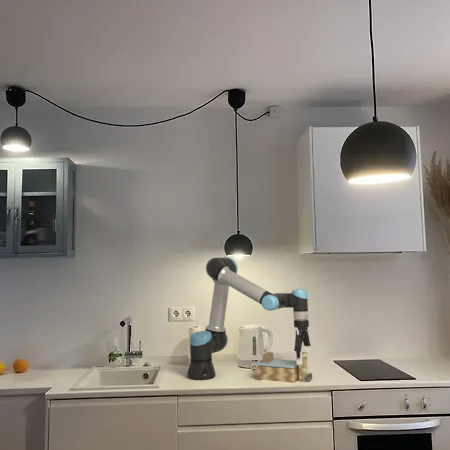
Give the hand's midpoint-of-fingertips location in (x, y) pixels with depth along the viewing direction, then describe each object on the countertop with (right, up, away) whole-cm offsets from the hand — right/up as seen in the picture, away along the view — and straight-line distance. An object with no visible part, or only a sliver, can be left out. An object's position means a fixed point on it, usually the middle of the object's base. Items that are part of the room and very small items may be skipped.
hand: (303, 361), depth 227 cm
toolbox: (-9, -10, +3) cm, 14 cm away
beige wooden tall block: (0, -9, -1) cm, 9 cm away
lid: (-12, -3, +5) cm, 13 cm away
